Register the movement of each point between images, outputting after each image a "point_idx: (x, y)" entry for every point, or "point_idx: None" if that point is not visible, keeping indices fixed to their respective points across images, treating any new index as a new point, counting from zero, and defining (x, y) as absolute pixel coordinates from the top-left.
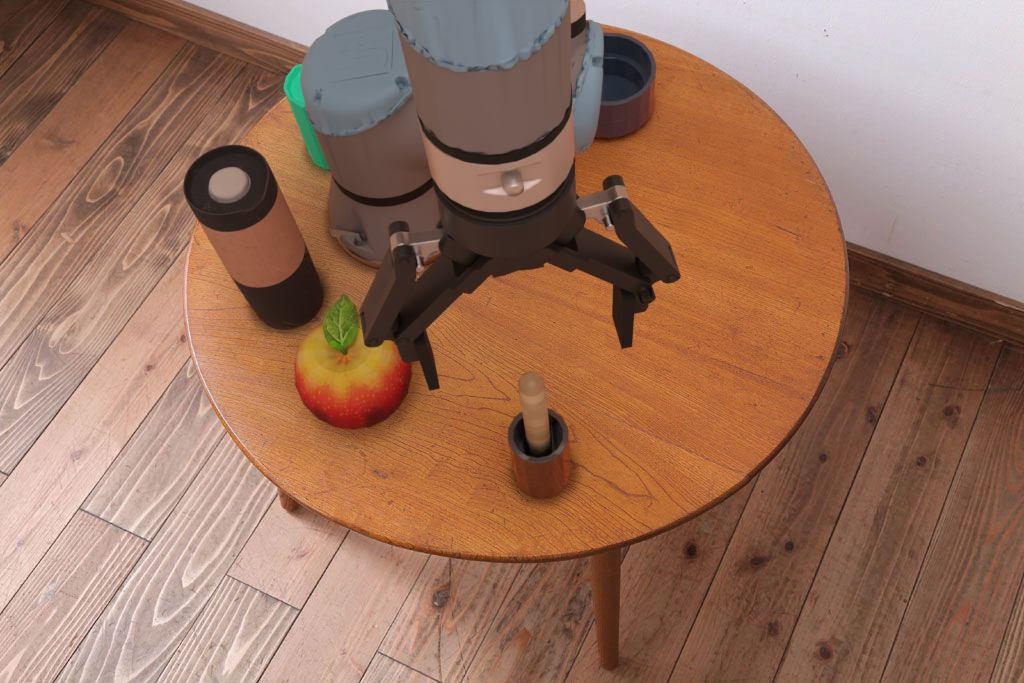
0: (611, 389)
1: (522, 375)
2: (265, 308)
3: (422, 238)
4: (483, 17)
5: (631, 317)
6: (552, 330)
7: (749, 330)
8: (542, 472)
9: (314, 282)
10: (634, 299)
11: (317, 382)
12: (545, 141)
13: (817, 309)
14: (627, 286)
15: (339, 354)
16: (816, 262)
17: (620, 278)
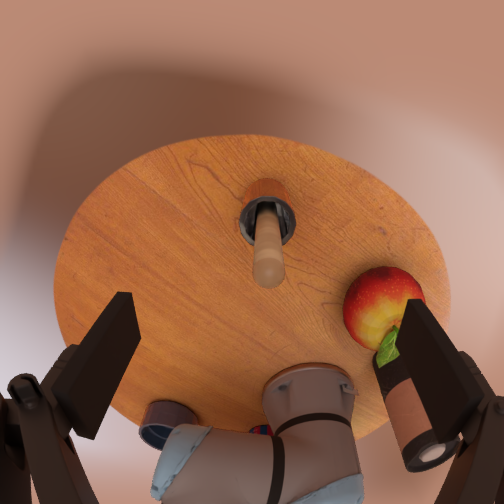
0: (199, 251)
1: (277, 285)
2: None
3: None
4: None
5: (81, 347)
6: (232, 303)
7: (102, 268)
8: (270, 190)
9: (382, 368)
10: (51, 388)
11: None
12: None
13: (64, 270)
14: (44, 428)
15: (397, 325)
16: (63, 298)
17: (42, 460)
